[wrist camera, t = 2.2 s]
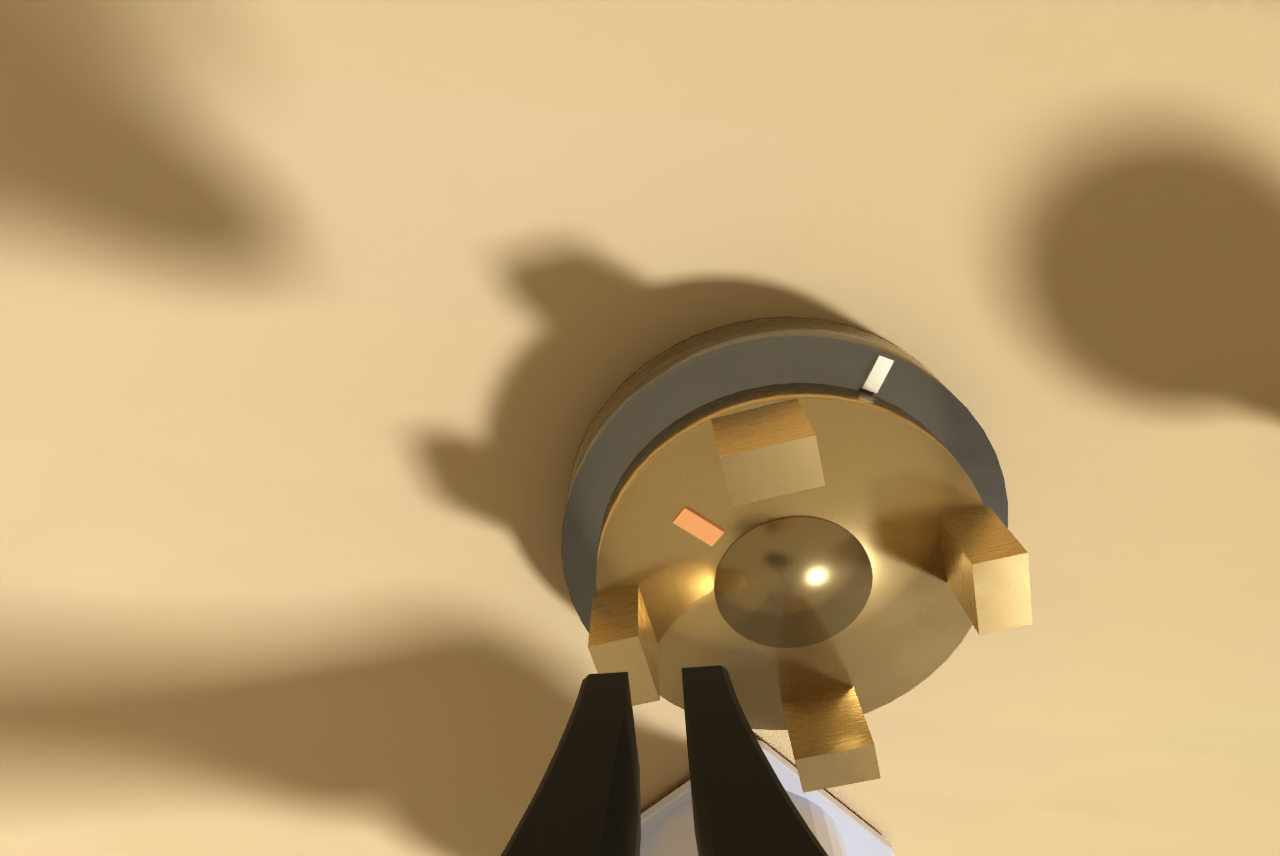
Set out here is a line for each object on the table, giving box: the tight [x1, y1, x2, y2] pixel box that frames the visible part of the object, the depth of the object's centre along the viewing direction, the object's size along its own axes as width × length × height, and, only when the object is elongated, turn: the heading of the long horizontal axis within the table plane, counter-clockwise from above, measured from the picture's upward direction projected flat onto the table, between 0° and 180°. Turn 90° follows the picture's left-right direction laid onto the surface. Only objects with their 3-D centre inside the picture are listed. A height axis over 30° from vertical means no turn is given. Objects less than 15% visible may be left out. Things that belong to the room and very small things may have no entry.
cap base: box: [562, 317, 1008, 632], centre depth 21 cm, size 12×12×2 cm
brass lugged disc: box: [588, 383, 1032, 793], centre depth 19 cm, size 10×10×3 cm
